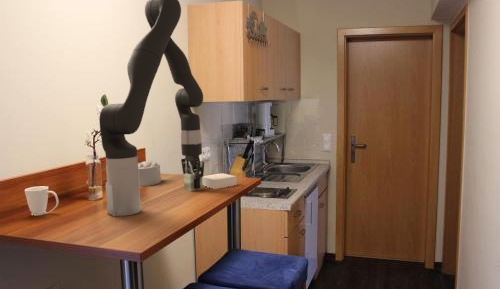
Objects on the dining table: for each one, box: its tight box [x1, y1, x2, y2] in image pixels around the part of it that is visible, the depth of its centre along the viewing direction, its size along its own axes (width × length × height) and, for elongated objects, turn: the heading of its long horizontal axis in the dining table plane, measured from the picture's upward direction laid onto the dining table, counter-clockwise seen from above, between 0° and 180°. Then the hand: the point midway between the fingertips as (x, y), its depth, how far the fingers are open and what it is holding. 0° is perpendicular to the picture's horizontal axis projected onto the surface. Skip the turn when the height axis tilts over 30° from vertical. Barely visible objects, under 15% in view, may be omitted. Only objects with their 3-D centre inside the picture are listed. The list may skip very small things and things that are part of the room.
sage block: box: [183, 172, 204, 192], centre depth 168 cm, size 5×5×6 cm
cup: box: [24, 185, 59, 217], centre depth 139 cm, size 7×10×8 cm
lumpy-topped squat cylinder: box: [138, 160, 162, 187], centre depth 184 cm, size 10×13×9 cm
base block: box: [202, 172, 237, 190], centre depth 175 cm, size 10×10×4 cm
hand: (193, 187), depth 168 cm, fingers closed on sage block, 5 cm apart
